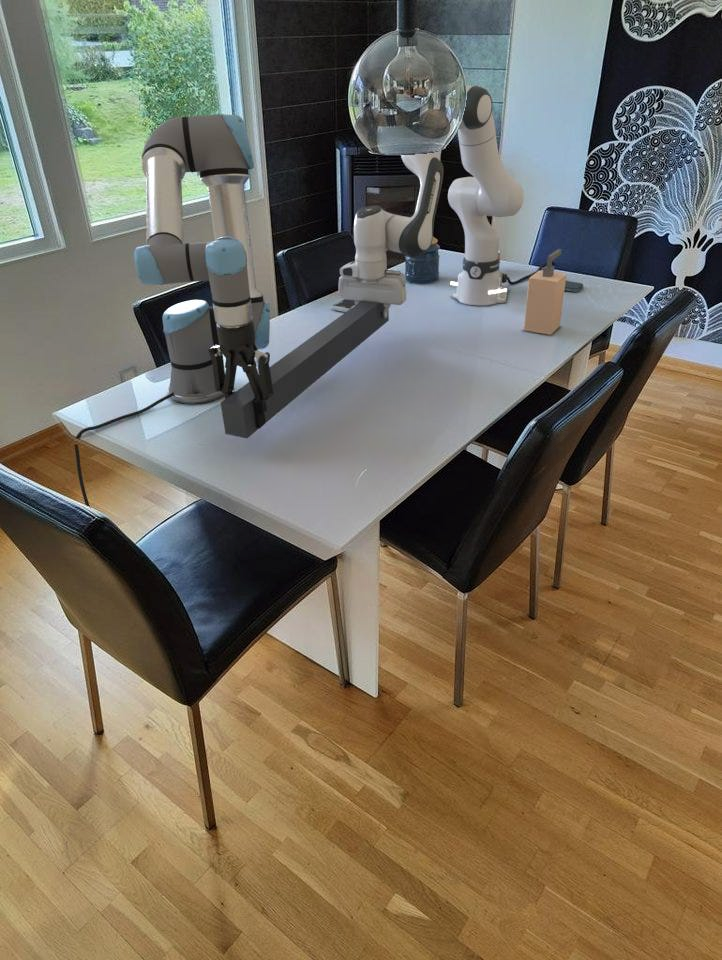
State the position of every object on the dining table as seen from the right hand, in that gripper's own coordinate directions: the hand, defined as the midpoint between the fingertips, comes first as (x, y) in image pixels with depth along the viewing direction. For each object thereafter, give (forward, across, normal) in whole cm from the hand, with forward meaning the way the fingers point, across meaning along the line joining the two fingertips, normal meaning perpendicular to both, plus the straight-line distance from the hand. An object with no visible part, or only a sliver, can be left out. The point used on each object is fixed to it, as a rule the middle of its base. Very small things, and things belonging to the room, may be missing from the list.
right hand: (373, 316), depth 197 cm
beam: (+2, 0, +34) cm, 34 cm away
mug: (+11, -13, -83) cm, 85 cm away
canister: (+10, +9, -67) cm, 68 cm away
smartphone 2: (+11, -41, -73) cm, 84 cm away
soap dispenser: (+10, -44, -31) cm, 55 cm away
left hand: (+1, +1, +67) cm, 67 cm away
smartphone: (+9, +21, -31) cm, 38 cm away
